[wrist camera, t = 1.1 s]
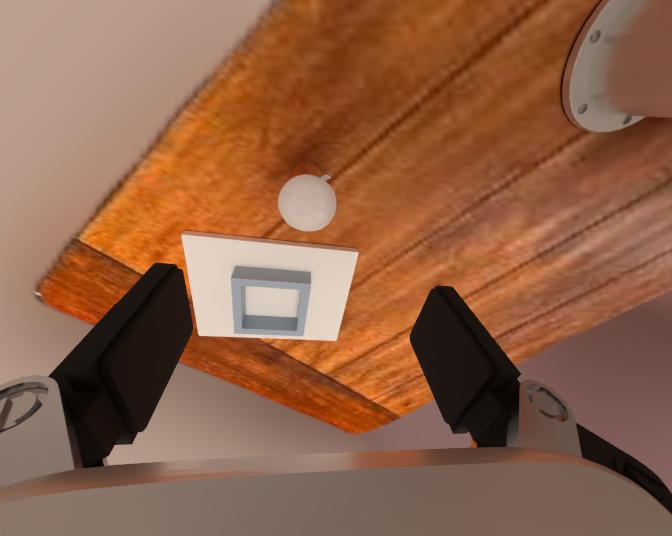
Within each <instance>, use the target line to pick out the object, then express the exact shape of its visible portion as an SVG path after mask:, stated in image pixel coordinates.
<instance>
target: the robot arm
mask: <svg viewBox="0 0 672 536" xmlns="http://www.w3.org/2000/svg"><path fill="white" fill-rule="evenodd" d="M562 98H563V106H564V109H565V113H566V115H567V116H568V118H569V120H570V121H571V122H572V123H573V124H574V125H575V126H576V127H578V128H580V129H583V130H585V131H591V132H598V133H599V132H612V131H616V130H620V129H623V128H625V127H627V126H630V125H632V124H634V123H636V122H638V121H639V120H641V119H643V118H645V117H664V118H672V0H602V1H601V3H600V4H599V5H598V6H597V8H596V9H595V11H594V12H593V14H592V15H591V16H590V18H589V19H588V21H587V22H586V24H585V26H584V27H583V29H582V31H581V33H580V35H579V37H578V38H577V40H576V42H575V45H574V47H573V49H572V52H571V54H570V57H569V59H568V63H567V66H566V70H565V74H564V79H563V87H562ZM192 330H193V322H192V317H191V311H190V306H189V301H188V295H187V290H186V285H185V279H184V274H183V271H182V269H178V268H177V266H176V265H175V264H166V263H155V264H153V265H152V266H151V267H150V268H149V270H148V271H147V272H146V273H145V274H144V275H143V276H142V277H141V278H140V279H139V280H138V282H137V283H136V284H135V285H134V286H133V287H132V288H131V289H130V290H129V291H128V292H127V293H126V295H125V296H124V297H123V298H122V299H121V300H120V301H119V302H117V303H116V304H115V305H114V306H113V307H112V308H111V309H110V310H109V311H108V312H107V314H106V315H105V316H104V317H103V318H102V319H101V320H100V321H99V322H98V323H97V324H96V325H95V327H94V328H93V329H92V330H91V331H90V332H89V333H88V334H87V335H86V336H85V337H84V338H83V339H82V341H81V342H80V343H79V344H78V345H77V346H76V347H75V348H74V349H73V350H72V351H71V352H70V354H69V355H68V356H67V357H66V358H65V359H64V360H63V361H62V362H61V363H60V365H58V367H57V368H56V369H55V370H54V371H53V372H52V373H51V374H50V375H49V376H37V375H36V376H29V377H23V378H20V379H17V380H13V381H10V382H7V383H5V384H3V385H0V536H672V493H671V492H670V491H669V489H668V488H667V487H666V485H665V484H664V483H663V482H662V481H661V479H660V478H659V477H658V476H657V475H656V474H655V473H654V472H653V471H651V470H650V469H649V468H647V467H646V466H645V465H643V464H642V463H641V462H639V461H638V460H636V459H635V458H633V457H632V456H630V455H628V454H626V453H625V452H623V451H622V450H620V449H618V448H617V447H615V446H614V445H612V444H610V443H609V442H607V441H605V440H604V439H602V438H600V437H599V436H597V435H596V434H594V433H592V432H591V431H589V430H587V429H586V428H584V427H582V426H581V425H579V424H577V423H576V421H575V417H574V414H573V411H572V410H571V408H570V407H569V406H568V404H567V402H566V401H565V400H564V399H563V398H562V397H561V396H560V395H558V394H557V393H556V392H555V391H554V390H552V389H551V388H549V387H547V386H546V385H544V384H542V383H539V382H537V381H532V380H525V381H523V382H522V383H520V382H519V381H518V380H517V378H518V377H519V376H520V375H521V373H520V372H519V371H518V370H517V368H516V367H515V366H514V364H513V363H512V362H511V360H510V359H509V358H508V357H507V355H506V354H505V353H504V352H503V350H502V349H501V348H500V346H499V345H498V344H497V343H496V341H495V340H494V339H493V338H492V336H491V335H490V334H489V332H488V331H487V330H486V329H485V327H484V326H483V325H482V323H481V322H480V321H479V320H478V318H477V317H476V316H475V315H474V313H473V312H472V311H471V309H470V308H469V307H468V306H467V304H466V303H465V302H464V301H463V299H462V298H461V297H460V295H459V294H458V293H457V292H456V290H455V289H454V288H453V287H451V286H439V285H438V286H436V287H435V288H434V289H432V290H431V291H430V293H429V295H428V297H427V299H426V301H425V304H424V306H423V308H422V310H421V312H420V314H419V316H418V318H417V321H416V323H415V325H414V327H413V329H412V331H411V334H410V342H411V345H412V347H413V349H414V352H415V354H416V356H417V359H418V361H419V363H420V366H421V368H422V370H423V373H424V375H425V377H426V379H427V382H428V384H429V386H430V389H431V391H432V393H433V396H434V398H435V400H436V403H437V405H438V407H439V409H440V412H441V414H442V416H443V418H444V420H445V422H446V423H447V424H449V425H450V428H451V430H452V432H453V433H454V434H458V433H467V432H468V431H469V432H470V434H471V436H472V441H471V447H470V448H450V449H426V450H425V449H424V450H399V451H375V452H353V453H329V454H306V455H285V456H264V457H245V458H244V457H243V458H223V459H203V460H184V461H169V462H155V463H139V464H124V465H111V466H108V462H107V458H106V457H107V456H109V454H110V452H111V451H112V449H113V447H114V445H121V444H123V445H124V444H132V443H133V441H134V439H135V437H136V435H137V433H138V432H142V431H144V429H145V428H146V427H147V425H148V423H149V421H150V419H151V417H152V415H153V413H154V411H155V408H156V406H157V404H158V402H159V400H160V398H161V396H162V394H163V392H164V390H165V388H166V386H167V384H168V382H169V380H170V377H171V375H172V373H173V371H174V369H175V367H176V365H177V363H178V361H179V359H180V357H181V355H182V353H183V351H184V349H185V346H186V344H187V342H188V340H189V338H190V336H191V334H192Z"/></svg>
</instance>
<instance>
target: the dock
mask: <svg viewBox="0 0 672 536" xmlns="http://www.w3.org/2000/svg"><path fill="white" fill-rule="evenodd" d="M181 235H182V241H183V247H184V253H185V259H186V264H187V270H188V276H189V282H190V288H191V293H192V299H193V305H194V311H195V317H196V322H197V328H198V334H199V336H224V337H251V338H278V339H305V340H332V341H337V337H338V333H339V329H340V325H341V321H342V317H343V313H344V309H345V305H346V301H347V297H348V293H349V289H350V285H351V281H352V277H353V273H354V269H355V265H356V262H357V258H358V254H359V252H358V249H357V248H349V247H339V246H329V245H320V244H310V243H301V242H291V241H282V240H272V239H262V238H253V237H243V236H234V235H224V234H214V233H205V232H195V231H186V230H185V231H184V232H183V233H182V234H181Z"/></svg>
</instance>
